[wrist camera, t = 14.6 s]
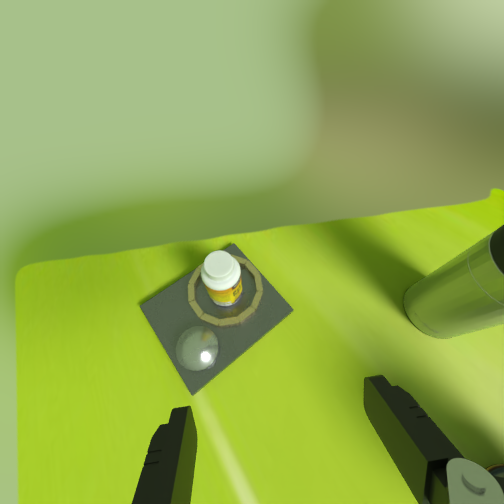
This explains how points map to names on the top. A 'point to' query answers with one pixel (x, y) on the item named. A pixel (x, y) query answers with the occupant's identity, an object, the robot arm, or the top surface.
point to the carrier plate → (213, 322)
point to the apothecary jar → (496, 470)
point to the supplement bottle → (222, 278)
